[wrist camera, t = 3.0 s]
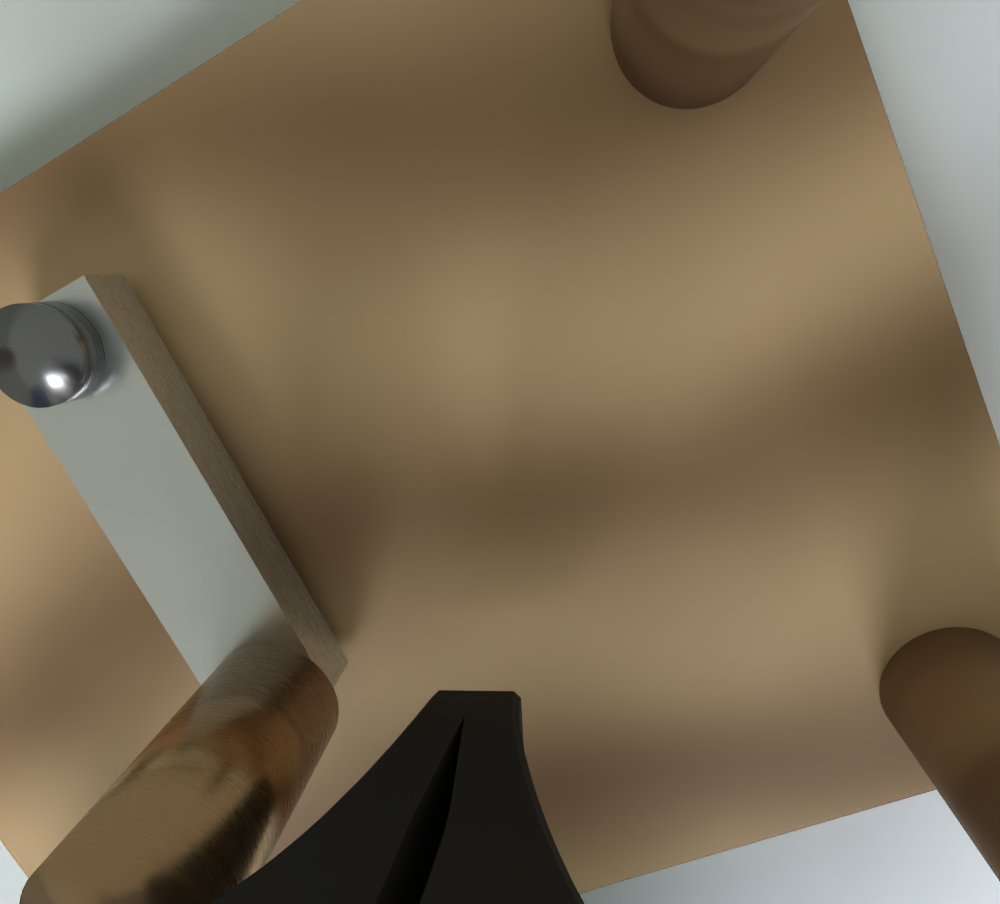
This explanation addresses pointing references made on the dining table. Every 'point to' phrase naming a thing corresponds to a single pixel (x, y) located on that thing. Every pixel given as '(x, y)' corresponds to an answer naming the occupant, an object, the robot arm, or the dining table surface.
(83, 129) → the dining table surface
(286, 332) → the stool seat
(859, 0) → the dining table surface
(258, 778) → the hinged leg
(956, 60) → the dining table surface
